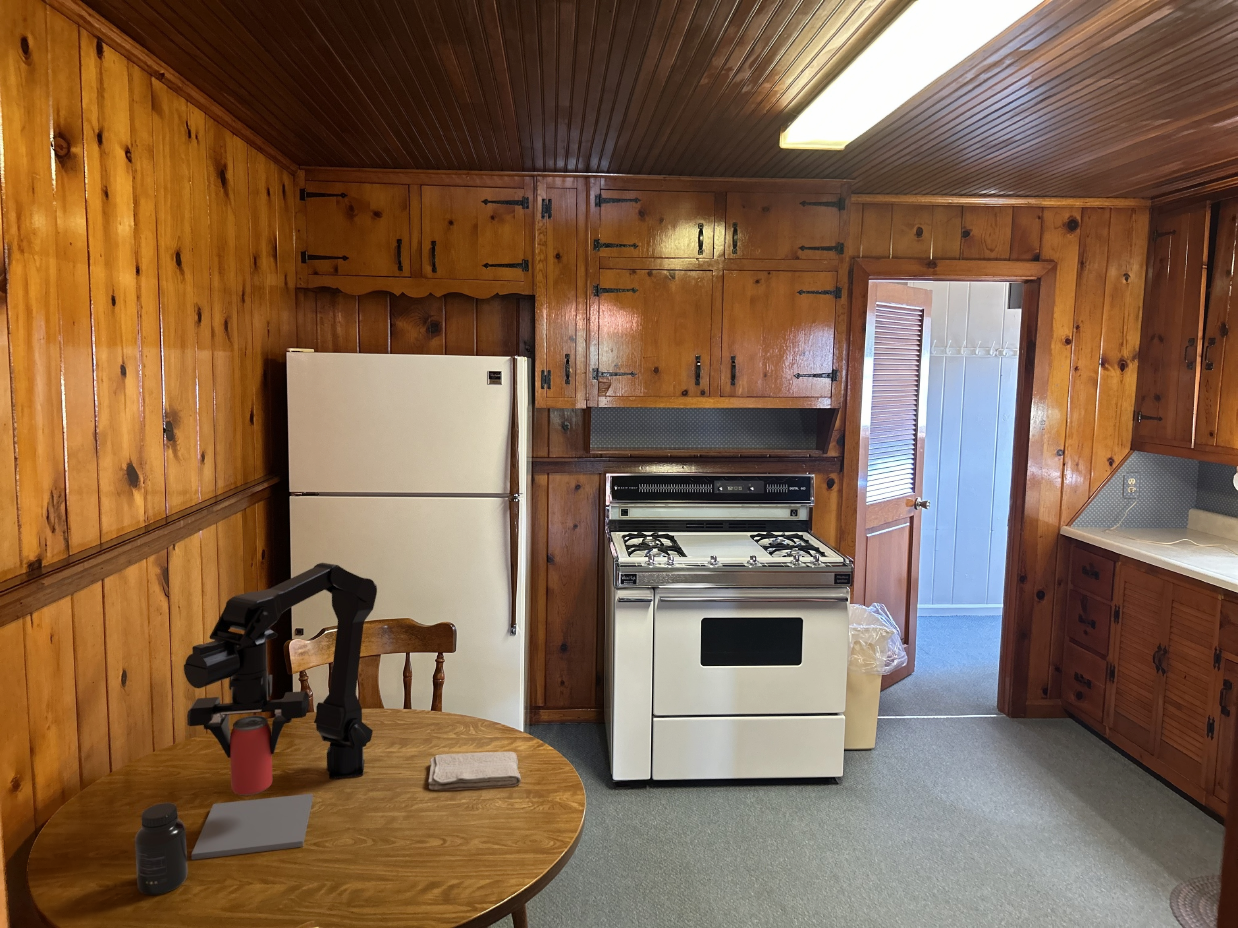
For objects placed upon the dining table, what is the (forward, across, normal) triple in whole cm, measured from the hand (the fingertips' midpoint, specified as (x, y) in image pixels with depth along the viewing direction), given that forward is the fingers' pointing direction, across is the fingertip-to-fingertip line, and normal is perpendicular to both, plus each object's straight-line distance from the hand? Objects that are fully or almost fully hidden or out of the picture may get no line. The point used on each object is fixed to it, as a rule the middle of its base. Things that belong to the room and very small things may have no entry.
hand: (251, 754), depth 140 cm
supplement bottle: (+13, +10, +15) cm, 22 cm away
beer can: (+6, 0, 0) cm, 6 cm away
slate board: (+13, -1, +1) cm, 13 cm away
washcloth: (+14, -39, -11) cm, 43 cm away
